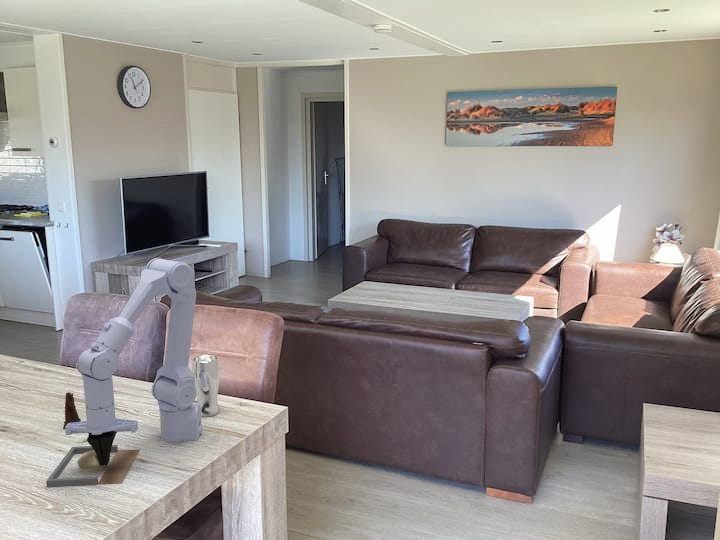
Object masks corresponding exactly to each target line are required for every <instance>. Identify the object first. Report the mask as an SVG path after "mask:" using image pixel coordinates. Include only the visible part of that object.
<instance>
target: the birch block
mask: <svg viewBox="0 0 720 540" xmlns="http://www.w3.org/2000/svg"><path fill="white" fill-rule="evenodd" d="M76 464H77V465H78V468H79V470H80V472H101V471H102V469H103V468H104V467H105V465H100V461H99V459H98V456H97V454H96V452H95V451H94V450H92V451H88V452H85V453H83V454H82V455H81V456H80V457H79V458H78V459H77V461H76Z"/></svg>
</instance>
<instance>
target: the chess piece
mask: <svg viewBox="0 0 720 540" xmlns="http://www.w3.org/2000/svg"><path fill="white" fill-rule="evenodd" d="M64 420H65V421H64V422H63V430H65V427H66V425H67V424H68V423H75V422H82V419H81V418H80V416H79V413H78V411H77V409H76V405H75V397H74V393H71V392H70V391H68V392H66V393H65V402H64Z"/></svg>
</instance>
